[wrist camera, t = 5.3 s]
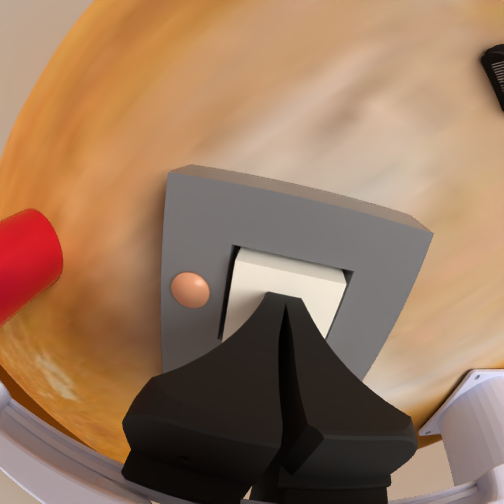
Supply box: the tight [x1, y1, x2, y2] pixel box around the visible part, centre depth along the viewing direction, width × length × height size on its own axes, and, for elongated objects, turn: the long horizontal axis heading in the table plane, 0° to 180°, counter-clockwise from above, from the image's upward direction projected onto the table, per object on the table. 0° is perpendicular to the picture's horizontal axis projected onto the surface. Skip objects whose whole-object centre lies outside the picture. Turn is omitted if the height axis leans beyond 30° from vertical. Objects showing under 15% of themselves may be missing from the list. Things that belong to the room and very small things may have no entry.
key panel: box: [161, 165, 434, 382], centre depth 15 cm, size 10×23×3 cm, turn 170°
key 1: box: [222, 247, 347, 342], centre depth 12 cm, size 4×4×3 cm
